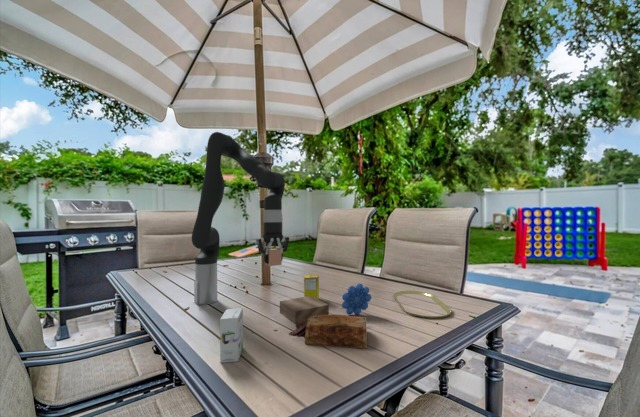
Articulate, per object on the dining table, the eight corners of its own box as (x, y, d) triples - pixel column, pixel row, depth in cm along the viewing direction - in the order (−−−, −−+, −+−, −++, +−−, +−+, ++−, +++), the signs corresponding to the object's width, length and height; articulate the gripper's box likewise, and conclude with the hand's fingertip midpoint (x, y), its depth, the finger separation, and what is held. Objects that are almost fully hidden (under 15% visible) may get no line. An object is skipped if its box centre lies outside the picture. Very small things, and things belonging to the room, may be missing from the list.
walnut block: (295, 325, 105) (295, 311, 105) (279, 313, 117) (279, 301, 117) (328, 318, 112) (328, 304, 112) (310, 307, 124) (310, 295, 124)
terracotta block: (270, 266, 117) (270, 250, 117) (265, 264, 121) (265, 249, 121) (281, 264, 120) (281, 249, 120) (276, 262, 124) (276, 248, 124)
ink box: (226, 348, 87) (226, 308, 87) (243, 347, 88) (243, 307, 88) (219, 363, 79) (219, 318, 79) (238, 362, 79) (238, 317, 79)
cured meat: (295, 323, 107) (295, 304, 107) (365, 326, 104) (365, 306, 104) (282, 347, 89) (282, 324, 89) (366, 351, 86) (366, 328, 86)
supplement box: (319, 298, 136) (318, 274, 136) (317, 302, 130) (317, 277, 130) (306, 298, 137) (306, 274, 137) (304, 302, 131) (304, 277, 131)
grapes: (368, 310, 119) (368, 280, 119) (373, 316, 112) (372, 284, 113) (340, 311, 118) (339, 281, 118) (342, 317, 111) (342, 285, 112)
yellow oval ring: (408, 320, 109) (408, 316, 109) (389, 293, 144) (389, 290, 144) (459, 320, 109) (459, 316, 109) (428, 294, 144) (428, 290, 144)
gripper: (284, 220, 128) (285, 260, 127) (252, 221, 120) (252, 263, 120) (293, 220, 121) (293, 262, 121) (259, 221, 113) (259, 266, 113)
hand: (273, 262), depth 120 cm, fingers closed on terracotta block, 5 cm apart
